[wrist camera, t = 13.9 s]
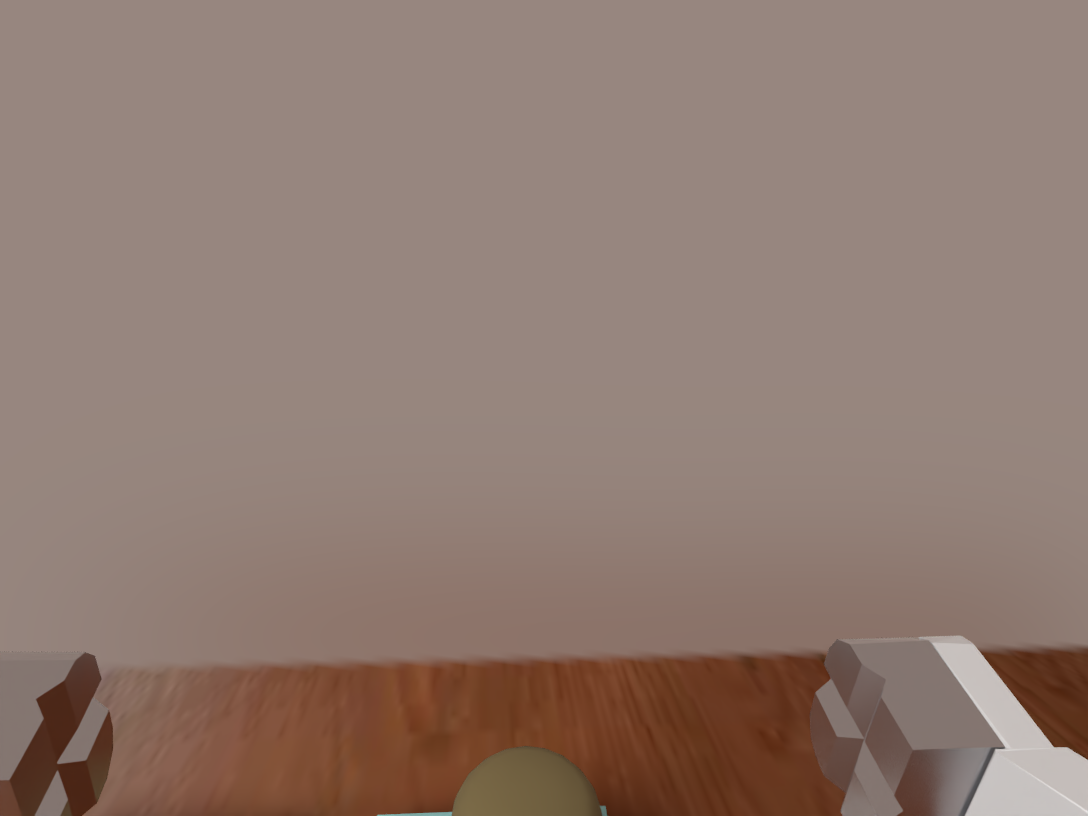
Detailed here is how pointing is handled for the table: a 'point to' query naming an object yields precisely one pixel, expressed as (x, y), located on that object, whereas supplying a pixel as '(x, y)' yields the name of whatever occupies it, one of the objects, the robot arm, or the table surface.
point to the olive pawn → (526, 786)
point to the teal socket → (603, 809)
